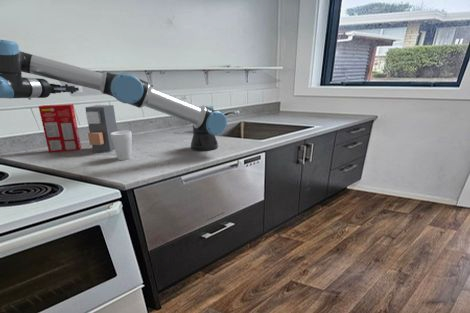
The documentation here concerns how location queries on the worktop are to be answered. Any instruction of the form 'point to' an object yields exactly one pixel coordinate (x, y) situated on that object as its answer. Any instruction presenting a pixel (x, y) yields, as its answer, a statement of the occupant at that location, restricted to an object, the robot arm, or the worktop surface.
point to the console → (104, 126)
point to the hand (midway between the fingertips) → (81, 89)
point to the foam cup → (122, 144)
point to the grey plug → (93, 117)
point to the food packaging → (60, 127)
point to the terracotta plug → (96, 138)
